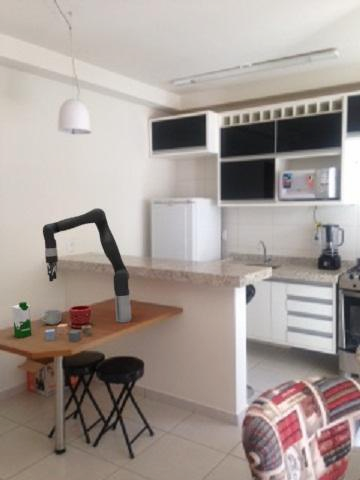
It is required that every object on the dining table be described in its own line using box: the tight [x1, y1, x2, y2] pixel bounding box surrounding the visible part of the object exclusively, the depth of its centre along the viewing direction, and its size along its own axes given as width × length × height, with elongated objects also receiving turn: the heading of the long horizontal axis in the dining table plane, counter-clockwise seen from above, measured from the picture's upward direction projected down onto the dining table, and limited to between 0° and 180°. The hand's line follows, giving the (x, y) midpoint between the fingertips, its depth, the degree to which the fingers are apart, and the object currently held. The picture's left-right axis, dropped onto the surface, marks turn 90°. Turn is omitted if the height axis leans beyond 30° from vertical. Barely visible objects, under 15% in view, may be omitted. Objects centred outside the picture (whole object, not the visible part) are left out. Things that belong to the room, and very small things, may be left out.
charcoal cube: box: [67, 329, 82, 343], centre depth 240 cm, size 5×5×5 cm
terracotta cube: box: [56, 323, 69, 336], centre depth 253 cm, size 5×5×5 cm
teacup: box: [40, 309, 63, 326], centre depth 274 cm, size 14×11×8 cm
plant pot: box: [68, 305, 92, 329], centre depth 266 cm, size 13×13×12 cm
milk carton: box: [11, 301, 33, 339], centre depth 250 cm, size 9×9×20 cm
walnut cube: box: [81, 324, 93, 338], centre depth 248 cm, size 5×5×5 cm
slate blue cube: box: [45, 328, 56, 342], centre depth 243 cm, size 5×5×5 cm
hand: (53, 280), depth 273 cm, fingers open, 8 cm apart
